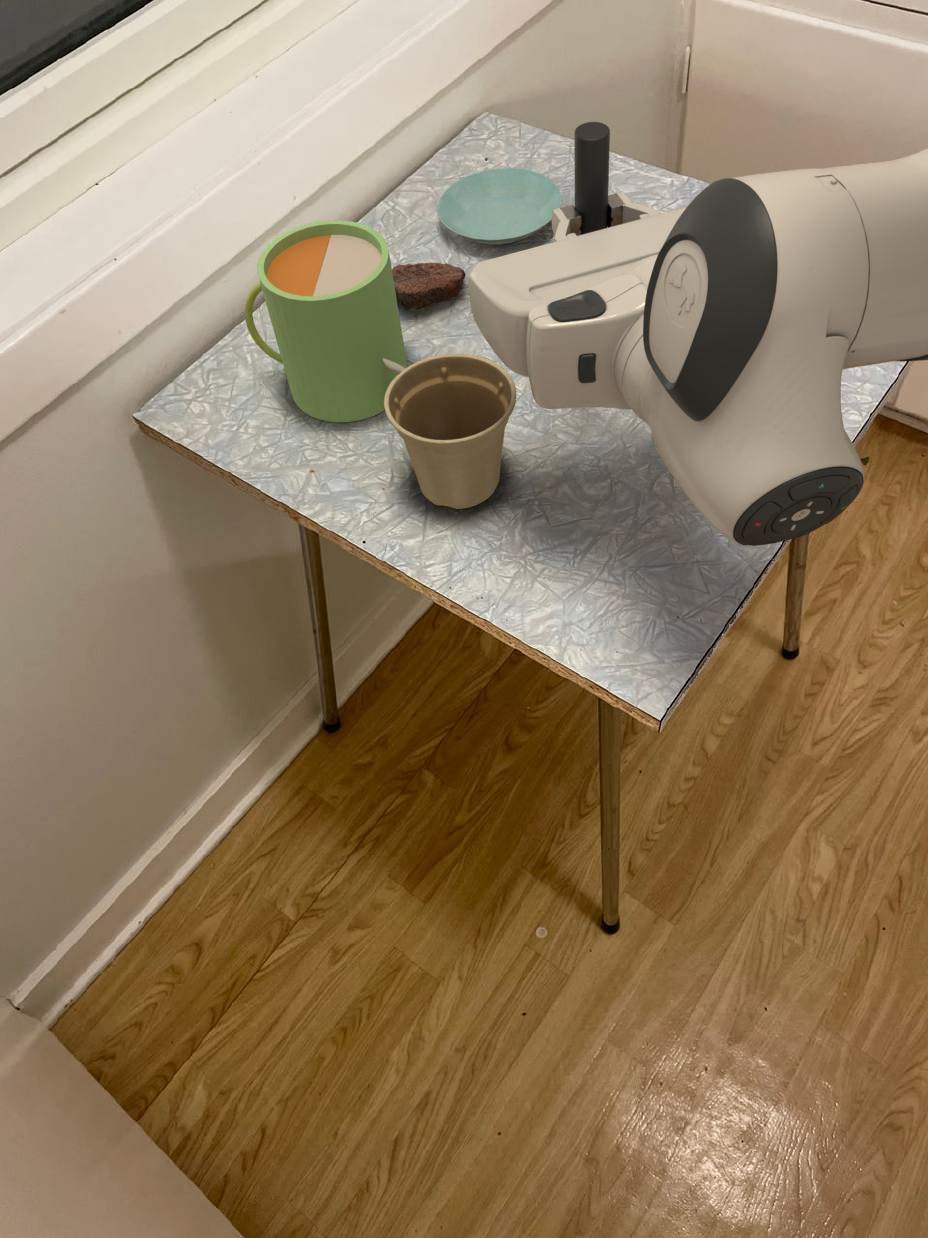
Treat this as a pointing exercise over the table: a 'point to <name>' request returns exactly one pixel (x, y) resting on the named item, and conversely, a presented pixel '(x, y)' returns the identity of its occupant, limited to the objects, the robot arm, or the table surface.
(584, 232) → the black marker
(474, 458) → the flower pot
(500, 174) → the saucer
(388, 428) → the table surface
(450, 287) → the grilled steak
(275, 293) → the mug
